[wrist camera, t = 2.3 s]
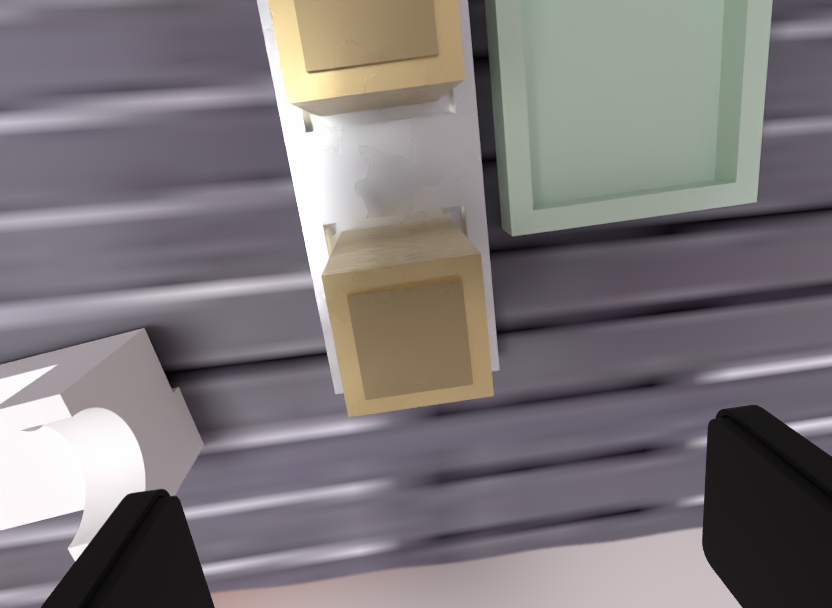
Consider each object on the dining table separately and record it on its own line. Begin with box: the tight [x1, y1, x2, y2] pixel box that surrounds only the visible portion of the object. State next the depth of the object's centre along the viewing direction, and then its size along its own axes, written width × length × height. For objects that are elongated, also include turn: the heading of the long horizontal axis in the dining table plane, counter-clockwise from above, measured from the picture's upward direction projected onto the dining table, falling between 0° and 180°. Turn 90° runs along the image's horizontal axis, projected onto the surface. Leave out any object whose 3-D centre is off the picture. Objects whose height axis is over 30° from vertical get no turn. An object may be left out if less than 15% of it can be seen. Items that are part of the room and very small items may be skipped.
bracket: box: [0, 328, 204, 561], centre depth 23 cm, size 13×7×8 cm, turn 104°
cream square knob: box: [268, 0, 465, 117], centre depth 17 cm, size 5×5×8 cm
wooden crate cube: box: [321, 217, 494, 417], centre depth 20 cm, size 5×5×8 cm
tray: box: [484, 0, 773, 236], centre depth 22 cm, size 11×11×2 cm
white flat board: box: [257, 0, 499, 394], centre depth 22 cm, size 20×8×2 cm, turn 7°
